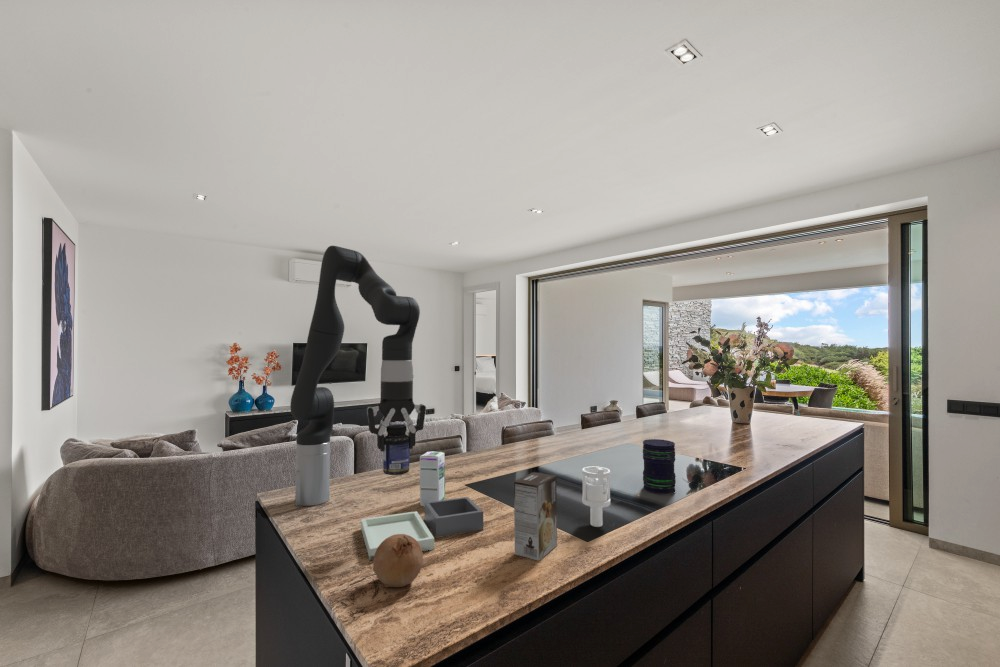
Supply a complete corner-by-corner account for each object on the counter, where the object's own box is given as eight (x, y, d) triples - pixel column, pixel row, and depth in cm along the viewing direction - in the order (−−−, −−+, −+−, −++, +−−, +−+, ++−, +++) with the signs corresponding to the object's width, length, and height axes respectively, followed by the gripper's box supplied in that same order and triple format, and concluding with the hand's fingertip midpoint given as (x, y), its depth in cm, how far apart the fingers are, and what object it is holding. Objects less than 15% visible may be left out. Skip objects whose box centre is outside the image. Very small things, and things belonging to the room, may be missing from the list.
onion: (411, 605, 85) (423, 566, 82) (362, 593, 84) (372, 553, 81) (421, 564, 94) (432, 527, 91) (376, 553, 93) (386, 515, 90)
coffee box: (533, 539, 107) (532, 471, 107) (557, 545, 104) (557, 475, 104) (513, 554, 99) (513, 480, 100) (539, 562, 96) (539, 485, 96)
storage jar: (638, 490, 143) (638, 443, 143) (648, 482, 151) (647, 438, 152) (671, 496, 137) (670, 447, 138) (679, 488, 145) (678, 441, 146)
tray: (369, 561, 96) (370, 549, 96) (361, 529, 113) (361, 519, 113) (434, 549, 101) (434, 538, 102) (416, 520, 118) (416, 511, 118)
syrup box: (439, 508, 128) (439, 456, 128) (419, 506, 129) (419, 455, 129) (445, 501, 133) (445, 451, 134) (426, 499, 134) (426, 450, 135)
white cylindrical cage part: (588, 530, 112) (587, 469, 112) (578, 519, 119) (578, 462, 119) (615, 529, 113) (614, 468, 113) (604, 518, 120) (603, 461, 120)
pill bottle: (414, 470, 109) (415, 424, 109) (398, 477, 104) (399, 428, 104) (393, 467, 112) (394, 422, 112) (377, 473, 106) (378, 426, 106)
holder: (436, 537, 108) (436, 518, 108) (424, 519, 119) (424, 502, 119) (483, 529, 112) (483, 511, 113) (467, 513, 124) (467, 496, 124)
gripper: (423, 377, 114) (422, 444, 114) (364, 378, 109) (363, 448, 108) (430, 379, 108) (429, 450, 107) (367, 381, 102) (366, 456, 102)
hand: (396, 449), depth 108 cm, fingers closed on pill bottle, 6 cm apart
